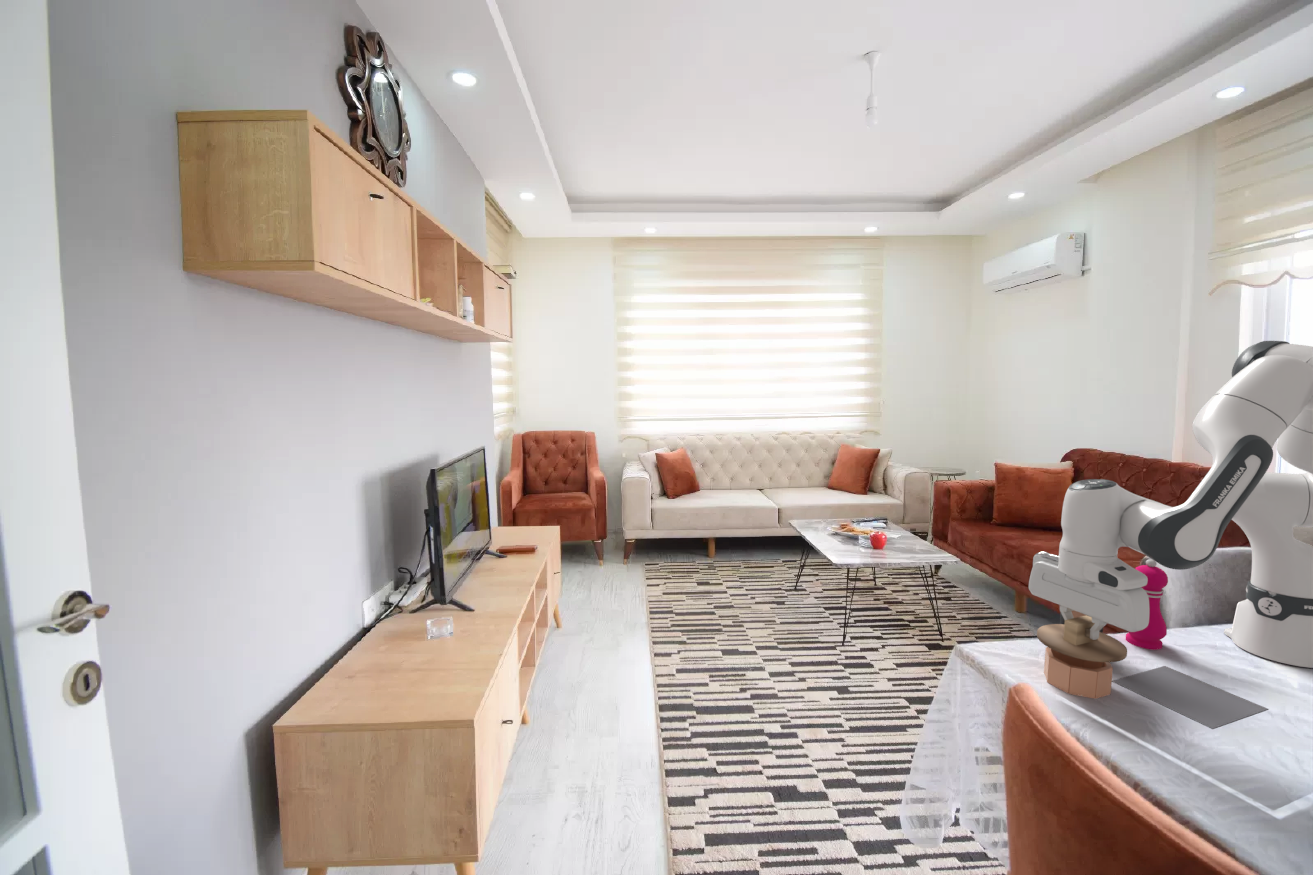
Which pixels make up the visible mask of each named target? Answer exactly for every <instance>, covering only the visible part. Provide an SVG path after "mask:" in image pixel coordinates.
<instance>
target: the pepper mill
mask: <svg viewBox="0 0 1313 875" xmlns="http://www.w3.org/2000/svg"><path fill="white" fill-rule="evenodd" d="M1134 569H1136V570H1138V571H1140V572H1141V573H1143V574H1144V575H1146V576H1147V578H1148V581H1147V585H1146V586H1143V587H1141V588H1143V589H1144V590H1145V591H1146V593H1147V595H1148V598H1149V624H1148V626H1147V627H1146V628H1145V629H1143V630H1140V631H1136V632H1129V631H1127V633H1126V634H1125V642H1127V643H1128V644H1131V645H1132V646H1134V647H1137V648H1140V649H1141V648H1142V649H1145V650H1150V651H1151V650H1153V651H1155V650H1157V651H1158V650H1161V649H1163V645H1164V644H1163V640H1162V639H1164V638H1165V637H1166V636H1167V635H1168V632H1167V630H1168V629H1167V628H1168V627H1167V624H1166V622H1165V619H1164V617H1163V615H1162V611H1161V599H1162V598H1163V597H1164V593H1165V592H1164V589H1163V588H1165V587H1167V585H1168V582H1169V577H1168V574H1167V572H1165V570H1163V569H1162V568H1160V567H1158V566H1157V562H1156V561H1154V560H1152V559H1151V558H1148V559H1147V560H1145V564H1141V565H1138V566H1136V567H1135V568H1134Z"/></svg>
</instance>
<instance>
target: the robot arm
mask: <svg viewBox="0 0 1313 875" xmlns="http://www.w3.org/2000/svg"><path fill="white" fill-rule="evenodd" d="M1191 427H1192V433H1193V435H1194V438H1195V440H1196V442H1197V443H1198V444H1199V445H1200V447H1201V448H1203V450H1205V451H1206V452H1207V453H1208V454H1210V455H1211V457H1212V462H1211V467H1210V468H1209V471H1208V472H1207V473H1206V474H1205V476H1204V477H1203V478H1202V480H1201V481H1200V483H1199V484H1198V485H1197V487H1195V489H1194V491H1193V492H1192V493H1191V494H1190V496H1188V498H1187V500H1186V501H1185V502H1184V503H1182V504H1179V505H1176V506H1171V505H1167V504H1163V502H1162V503H1161V502H1159V501H1157V500H1156V501H1155V500H1153V499H1149V498H1146V497H1144V496H1141V495H1138V494H1135V493H1133V492H1131V491H1129V490H1127V489H1125V488H1123V487H1122V486H1120V485H1119V484H1118V483H1117V482H1115V481H1113V480H1109V479H1102V478H1101V479H1097V478H1091V479H1089V478H1088V479H1082V480H1078V481H1075V482H1073V483H1072V484H1070V485H1069V486H1068V488H1067V490H1066V492H1065V495H1064V499H1063V502H1062V510H1061V519H1060V520H1061V521H1060V526H1061V529H1062V537H1061V540H1060V542H1059V548H1058V555H1057V554H1051V553H1049V552H1047V551H1040V552H1037V553H1035V554H1034V556H1033V558H1032V568H1031V571H1030V576H1029V580H1028V590H1029V591H1030V593H1031V595H1033V596H1035V597H1038V598H1040V599H1043V600H1046V601H1048V602H1051V603H1054V604H1055V605H1056V604H1057V605H1058V606H1059V613H1060V612H1061V614H1062V616H1063V618H1064V620H1068V619H1073V618H1074V617H1073V614H1072V612H1071V611H1073V610H1074V611H1077V612H1080V613H1082V614H1085V615H1088V616H1090V617H1092V623H1095V624H1094V625H1093V626H1092V627H1089V628H1085V637H1087V638H1090V639H1092V640H1096V639H1098V638H1099V630H1101V629H1102V628H1103V629H1104V627H1105V626H1107V624H1108V625H1110V626H1113V627H1114V626H1115V627H1116V628H1119V629H1122V630H1124V631H1127V632H1128V631H1129V632H1136V631H1140V630H1143V629H1145V628H1146V627H1147V626H1148V624H1149V598H1148V595H1147V593H1146V591H1145V590H1144V589H1143V588H1141V587H1143V586H1146V585H1147V581H1148V578H1147V576H1146V575H1144V574H1143V573H1141V572H1140V571H1138V570H1136V569H1135V568H1134V567H1133V566H1131V565H1129V564H1128V563H1126V562H1125V561H1123V560H1122V559H1120V558H1118V551H1119V549H1120V548H1123V547H1126V548H1130V549H1131V550H1134V551H1136V552H1138V553H1141V554H1142V555H1144V556H1146V557H1148V559H1152V560H1154V561H1156V564H1159V565H1161V566H1162V567H1165V568H1167V569H1171V570H1176V571H1177V570H1181V571H1183V570H1188V569H1194V568H1196V567H1199V566H1201V565H1202V564H1204V563H1206V562H1207V561H1209V559H1210V558H1211V557H1213V555H1214V554H1215V553H1216V551H1217V549H1218V546H1219V544H1220V541H1221V539H1222V536H1223V534H1224V532H1225V530H1226V529H1227V527H1228V525H1229V523H1230V522H1231V521H1233V522H1234V523H1236V525H1237V526H1239V528H1240V529H1241V530H1242V531H1243V533H1244V534H1245V535H1246V537H1247V539H1248V541H1249V544H1250V548H1251V574H1250V580H1248V581H1247V584H1246V586H1245V587H1246V588H1245V591H1246V592H1245V598H1246V599H1244V600H1241V601H1238V603H1237V604H1236V608H1235V613H1234V618H1233V622H1232V626H1231V627H1228V628H1227V627H1226V628H1225V629H1224V631H1223V634H1225V636H1227V637H1229V638H1230V639H1231V640H1232V642H1233V643H1234V644H1235V645H1236V647H1239V648H1241V649H1242V650H1244V651H1246V652H1248V653H1250V654H1252V655H1255V656H1258V657H1261V658H1264V659H1266V660H1271V661H1273V662H1278V663H1282V664H1287V665H1291V666H1294V667H1295V666H1296V667H1301V668H1311V669H1313V546H1312V545H1310V544H1309V543H1307V542H1304V541H1302V540H1299V539H1297V538H1295V535H1294V528H1297V527H1298V528H1299V527H1300V528H1313V346H1311V345H1304V344H1296V343H1295V344H1294V343H1290V342H1288V341H1282V340H1262V341H1259V342H1257V343H1255V344H1252V345H1250V346H1249V347H1247V348H1246V349H1245V350H1243V351H1242V352H1241V353H1240V354H1239V356H1238V357H1237V359H1236V360H1235V361H1234V364H1233V366H1232V369H1231V378H1230V379H1229V380H1228V381H1227V382H1226V383H1224V384H1223V385H1222V386H1221V387H1220V388H1219V389H1218V390H1217V391H1216V392H1215V393H1214V394H1213V395H1212V396H1211V397H1210V398H1209V399H1208V400H1207V402H1205V403H1204V405H1203V406H1201V408H1200V410H1199V411H1198V412H1197V414H1196V416H1195V417H1194V419H1193V422H1192V426H1191ZM1275 443H1276V451H1277V454H1278V455H1279V457H1280V458H1282V460H1284V461H1285V462H1287V463H1288V464H1290V465H1292V466H1293V467H1295V468H1297V469H1299V470H1302V471H1304V472H1306V473H1299V474H1298V473H1284V472H1283V473H1282V472H1268V469H1269V468H1270V466H1271V463H1272V461H1273V458H1274V450H1273V447H1274V445H1275ZM1129 632H1128V633H1129Z"/></svg>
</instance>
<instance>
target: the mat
mask: <svg viewBox="0 0 1313 875" xmlns="http://www.w3.org/2000/svg"><path fill="white" fill-rule="evenodd" d="M1112 683H1114V684H1117V685H1119V686H1121V687H1122V688H1125V689H1127V690H1129V691H1131V692H1134V693H1135V694H1137V695H1140V696H1142V697H1143V698H1146V699H1148V700H1150V701H1152V702H1153V703H1157V704H1159V705H1161V706H1162V707H1165V708H1167V709H1169V710H1171V711H1173V712H1175V713H1178V714H1180V715H1182V716H1184V717H1185V718H1189V719H1190V720H1192V721H1194V722H1197V723H1199V724H1201V725H1203V726H1205V727H1207V728H1209V729H1211V730H1213V729H1217V728H1220V727H1222V726H1225V725H1227V724H1230V723H1234V722H1237V721H1239V720H1243V719H1245V718H1248V717H1250V716H1254V715H1256V714H1259V713H1262V712H1266V711H1267V710H1269V708H1267V707H1264V706H1262V705H1260V704H1257V703H1255V702H1253V701H1250V700H1248V699H1247V698H1244V697H1241V696H1239V695H1235V694H1233V693H1231V692H1229V691H1226V690H1224V689H1221V688H1220V687H1217V686H1214V685H1212V684H1210V683H1208V682H1205V681H1204V680H1200V679H1197V678H1195V677H1193V676H1190V675H1188V674H1186V673H1183V672H1181V671H1178V670H1176V669H1174V668H1171V667H1168V666H1166V665H1163V666H1159V667H1156V668H1155V667H1154V668H1152V669H1149V670H1144V671H1141V672H1137V673H1135V674H1130V675H1127V676H1124V677H1120V678H1117V679H1112Z"/></svg>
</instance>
